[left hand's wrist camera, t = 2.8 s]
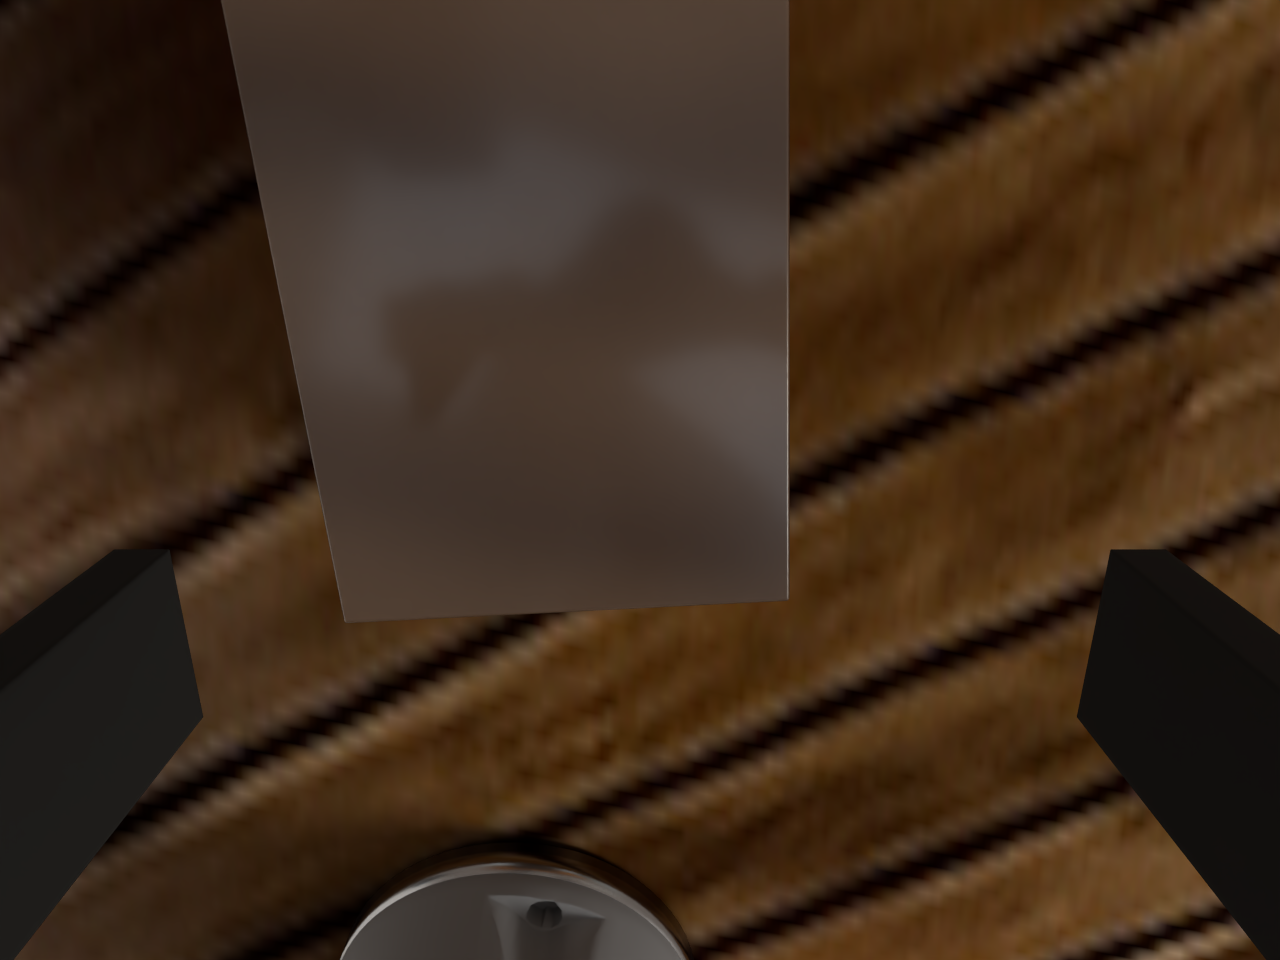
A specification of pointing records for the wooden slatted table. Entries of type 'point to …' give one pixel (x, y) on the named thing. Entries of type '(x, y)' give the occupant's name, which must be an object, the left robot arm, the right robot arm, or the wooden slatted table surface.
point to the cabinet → (532, 293)
